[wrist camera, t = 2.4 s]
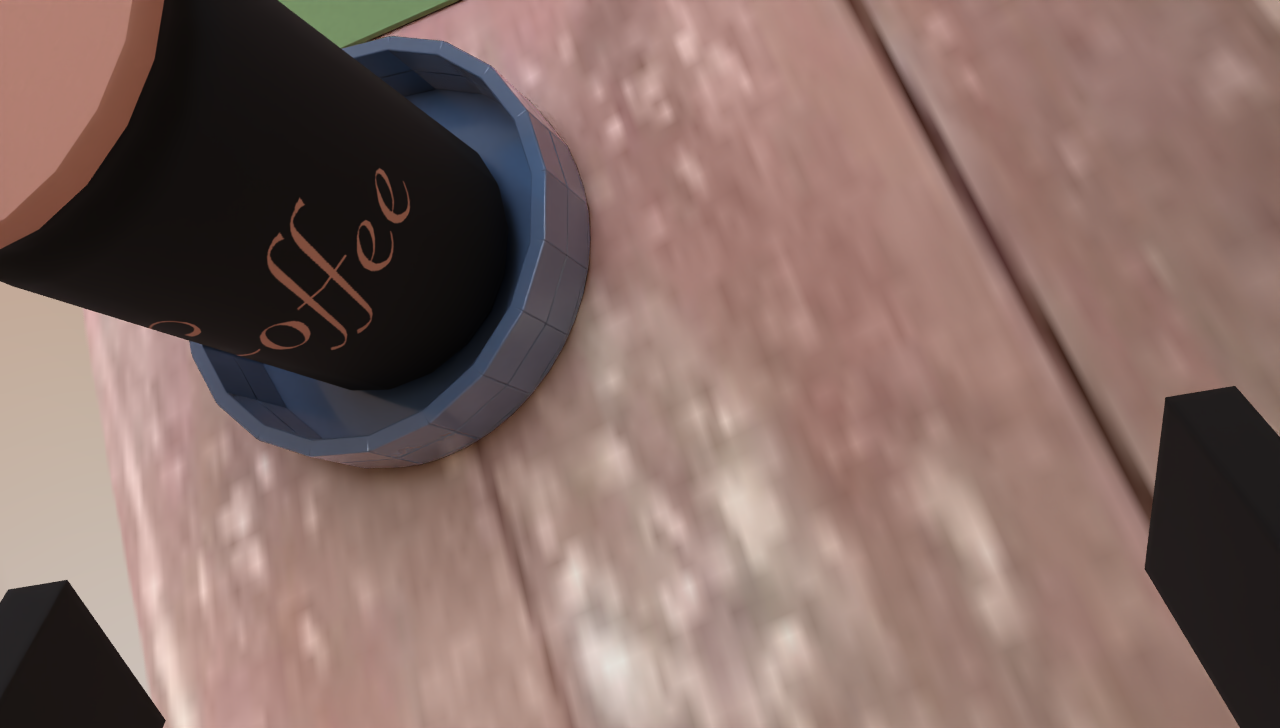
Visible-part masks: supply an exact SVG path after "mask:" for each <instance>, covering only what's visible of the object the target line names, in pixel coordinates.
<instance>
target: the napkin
mask: <svg viewBox="0 0 1280 728" xmlns="http://www.w3.org/2000/svg"><path fill="white" fill-rule="evenodd" d="M278 1H280V2H281V3H282V4H283V5H285V6H286V7H287V8H289V9H290V10H291V11H293V12H294V13H295V14H297V15H298V16H299V17H300V18H302V19H303V20H304V21H306V22H307V23H308V24H310V25H311V26H312V27H314V28H315V29H316V30H317V31H319V32H320V33H321V34H323V35H324V36H325V37H327V38H328V39H329V40H331V41H332V42H333V43H335V44H336V45H337V46H338V47H340V48H345V47H349V46H353V45H357V44H361V43H364V42H366V41H369V40H371V39H373V38H375V37H378V36H380V35H382V34H384V33H387V32H389V31H391V30H394V29H396V28H398V27H400V26H403V25H405V24H407V23H409V22H412V21H414V20H416V19H418V18H421V17H423V16H425V15H428V14H430V13H432V12H434V11H437V10H439V9H441V8H443V7H446V6H448V5H450V4H452V3H455V2H457V1H459V0H278Z"/></svg>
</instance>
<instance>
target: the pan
mask: <svg viewBox="0 0 1280 728" xmlns="http://www.w3.org/2000/svg"><path fill="white" fill-rule="evenodd" d="M341 49H342V50H344V51H345V52H346V53H348V54H349V55H350V56H352V57H353V58H354V59H355V60H357V61H358V62H359V63H361V64H362V65H363V66H365V67H366V68H367V69H369V70H370V71H371V72H373V73H374V74H375V75H376V76H378V77H379V78H380V79H382V80H383V81H384V82H386V83H387V84H388V85H390V86H391V87H392V88H393V89H395V90H396V91H397V92H399V93H400V94H401V95H403V96H404V97H405V98H407V99H408V100H409V101H410V102H412V103H413V104H414V105H416V106H417V107H418V108H420V109H421V110H422V111H424V112H425V113H426V114H428V115H429V116H430V117H431V118H433V119H434V120H435V121H437V122H438V123H439V124H441V125H442V126H443V127H445V128H446V129H447V130H448V131H450V132H451V133H452V134H454V135H455V136H456V137H458V138H459V139H460V140H462V141H463V142H464V143H466V144H467V145H468V146H469V147H471V148H472V149H473V150H475V151H476V152H477V153H478V154H479V155H480V157H481V158H482V160H483V161H484V163H485V165H486V166H487V168H488V169H489V171H490V173H491V174H492V176H493V177H494V179H495V180H496V182H497V184H498V186H499V189H500V193H501V197H502V202H503V206H504V211H505V215H506V220H507V225H508V240H507V252H506V264H505V275H504V278H503V281H502V283H501V286H500V289H499V291H498V294H497V297H496V299H495V302H494V305H493V308H492V310H491V312H490V314H489V315H488V317H487V318H486V319H485V321H484V322H483V324H482V325H481V326H480V328H479V329H478V331H477V332H476V333H475V335H474V336H473V338H472V339H471V340H470V342H469V343H468V344H467V345H466V346H465V347H464V348H462V349H461V350H460V351H459V352H457V353H456V354H455V355H454V356H452V357H451V358H450V359H449V360H447V361H446V362H445V363H444V364H442V365H441V366H440V367H439V368H437V369H436V370H435V371H434V372H433V373H431V374H428V375H426V376H423V377H421V378H418V379H416V380H413V381H411V382H408V383H406V384H403V385H400V386H398V387H395V388H392V389H389V390H357V391H352V390H348V389H345V388H342V387H339V386H335V385H332V384H329V383H326V382H322V381H319V380H316V379H313V378H309V377H306V376H303V375H300V374H296V373H293V372H290V371H287V370H283V369H280V368H277V367H274V366H270V365H267V364H264V363H261V362H257V361H254V360H251V359H248V358H244V357H241V356H238V355H235V354H231V353H228V352H225V351H222V350H218V349H215V348H212V347H209V346H205V345H202V344H199V343H196V342H192V341H189V342H190V348H191V354H192V357H193V359H194V361H195V363H196V365H197V367H198V369H199V371H200V372H201V374H202V376H203V378H204V380H205V382H206V384H207V386H208V388H209V390H210V392H211V394H212V395H213V397H214V399H215V401H216V403H217V404H218V405H219V406H220V407H221V408H222V409H223V410H224V411H225V412H227V413H228V414H229V415H230V416H231V417H232V418H233V419H235V420H236V421H237V422H238V423H239V424H240V425H241V426H243V427H244V428H245V429H246V430H247V431H248V432H249V433H251V434H252V435H253V436H254V437H255V438H256V439H258V440H259V441H262V442H265V443H268V444H271V445H274V446H277V447H281V448H284V449H287V450H290V451H293V452H296V453H299V454H302V455H305V456H308V457H313V458H318V459H322V460H327V461H332V462H338V463H342V464H347V465H351V466H356V467H361V468H399V467H406V466H412V465H421V464H425V463H427V462H430V461H433V460H437V459H440V458H443V457H446V456H448V455H451V454H453V453H455V452H457V451H459V450H461V449H463V448H466V447H468V446H470V445H471V444H473V443H474V442H476V441H478V440H479V439H481V438H482V437H484V436H485V435H487V434H489V433H490V432H492V431H493V430H494V429H495V428H496V427H498V426H499V425H500V424H501V423H503V422H504V421H505V420H506V419H507V418H509V417H510V416H511V415H512V414H513V413H514V412H515V411H516V410H517V409H518V408H519V407H520V406H521V405H522V404H523V403H524V402H525V401H526V400H527V399H528V397H529V396H530V395H531V394H532V393H533V392H534V390H535V389H536V388H537V386H538V385H539V384H540V382H541V381H542V380H543V378H544V377H545V376H546V374H547V373H548V372H549V370H550V369H551V367H552V365H553V363H554V362H555V360H556V358H557V357H558V355H559V353H560V351H561V350H562V348H563V346H564V344H565V342H566V340H567V337H568V335H569V333H570V331H571V328H572V326H573V324H574V321H575V319H576V316H577V312H578V309H579V306H580V303H581V300H582V296H583V293H584V288H585V282H586V277H587V272H588V266H589V252H590V225H589V211H588V206H587V201H586V196H585V191H584V187H583V184H582V181H581V178H580V175H579V172H578V169H577V166H576V164H575V162H574V160H573V158H572V156H571V154H570V151H569V148H568V146H567V145H566V144H565V142H564V141H563V140H562V139H561V138H560V136H559V135H558V134H557V132H556V131H555V129H554V128H553V127H552V126H551V125H550V124H549V123H548V122H547V120H546V119H545V118H544V117H543V115H542V114H541V113H540V112H539V110H538V109H537V108H536V107H535V106H534V105H533V104H532V103H531V102H530V101H529V100H528V99H527V98H526V97H525V96H523V95H522V94H521V93H520V92H519V91H518V90H517V89H516V88H515V87H514V86H513V85H512V84H511V83H509V82H508V81H507V80H506V79H505V78H504V77H503V76H502V75H501V74H500V73H499V72H498V71H497V70H495V69H494V68H493V67H492V66H491V65H489V64H487V63H485V62H483V61H481V60H480V59H478V58H476V57H474V56H472V55H470V54H468V53H466V52H464V51H463V50H461V49H459V48H457V47H455V46H453V45H451V44H449V43H448V42H444V41H438V40H428V39H417V38H407V37H396V36H391V37H390V36H389V37H385V38H381V39H377V40H373V41H369V42H365V43H361V44H357V45H353V46H349V47H345V48H341Z"/></svg>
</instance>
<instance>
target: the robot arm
mask: <svg viewBox="0 0 1280 728" xmlns="http://www.w3.org/2000/svg"><path fill="white" fill-rule="evenodd" d="M1145 570H1146V572H1147V574H1148V575H1149V577H1150V579H1151V580H1152V582H1153V584H1154V585H1155V587H1156V589H1157V590H1158V592H1159V594H1160V595H1161V597H1162V599H1163V600H1164V602H1165V604H1166V605H1167V607H1168V609H1169V610H1170V612H1171V614H1172V615H1173V617H1174V619H1175V620H1176V622H1177V624H1178V625H1179V627H1180V629H1181V630H1182V632H1183V634H1184V635H1185V637H1186V639H1187V640H1188V642H1189V644H1190V645H1191V647H1192V649H1193V650H1194V652H1195V654H1196V655H1197V657H1198V659H1199V660H1200V662H1201V664H1202V665H1203V667H1204V669H1205V670H1206V672H1207V674H1208V675H1209V677H1210V679H1211V680H1212V682H1213V684H1214V685H1215V687H1216V689H1217V690H1218V692H1219V694H1220V695H1221V697H1222V699H1223V700H1224V702H1225V704H1226V705H1227V707H1228V709H1229V710H1230V712H1231V714H1232V715H1233V717H1234V718H1235V720H1236V722H1237V723H1238V725H1239V727H1240V728H1280V437H1279V436H1278V434H1277V433H1276V432H1275V431H1274V430H1273V429H1272V428H1271V426H1270V425H1269V424H1268V423H1267V422H1266V421H1265V420H1264V418H1263V417H1262V416H1261V415H1260V414H1259V413H1258V412H1257V410H1256V409H1255V408H1254V407H1253V406H1252V405H1251V404H1250V402H1249V401H1248V400H1247V399H1246V398H1245V397H1244V396H1243V394H1242V393H1241V392H1240V391H1239V390H1238V389H1237V388H1236V386H1232V387H1225V388H1219V389H1213V390H1207V391H1201V392H1195V393H1189V394H1183V395H1177V396H1171V397H1166V398H1165V406H1164V414H1163V422H1162V431H1161V439H1160V447H1159V455H1158V463H1157V471H1156V480H1155V488H1154V496H1153V504H1152V512H1151V521H1150V529H1149V537H1148V545H1147V553H1146V562H1145ZM165 721H166V720H165V719H164V717H163V716H162V715H161V713H160V712H159V710H158V709H157V707H156V706H155V705H154V703H153V702H152V700H151V699H150V697H149V696H148V695H147V693H146V692H145V690H144V689H143V687H142V686H141V685H140V683H139V682H138V680H137V679H136V677H135V676H134V675H133V673H132V672H131V670H130V669H129V667H128V666H127V665H126V663H125V662H124V660H123V659H122V657H121V656H120V655H119V653H118V652H117V650H116V649H115V647H114V646H113V645H112V643H111V642H110V640H109V639H108V637H107V636H106V635H105V633H104V632H103V630H102V629H101V627H100V626H99V625H98V623H97V622H96V620H95V619H94V617H93V616H92V615H91V613H90V612H89V610H88V609H87V607H86V606H85V605H84V603H83V602H82V600H81V599H80V597H79V596H78V595H77V593H76V592H75V590H74V589H73V588H72V586H71V585H70V583H69V582H68V580H64V581H58V582H52V583H46V584H40V585H34V586H28V587H22V588H16V589H10V590H8V591H7V593H6V594H5V596H4V598H3V599H2V601H1V602H0V728H163V726H164V723H165Z"/></svg>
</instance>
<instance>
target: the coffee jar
mask: <svg viewBox="0 0 1280 728" xmlns="http://www.w3.org/2000/svg"><path fill="white" fill-rule="evenodd" d="M507 240H508V225H507V220H506V215H505V211H504V206H503V202H502V197H501V193H500V189H499V186H498V184H497V182H496V180H495V179H494V177H493V176H492V174H491V173H490V171H489V169H488V168H487V166H486V165H485V163H484V161H483V160H482V158H481V157H480V155H479V154H478V153H477V152H476V151H475V150H473V149H472V148H471V147H469V146H468V145H467V144H466V143H464V142H463V141H462V140H460V139H459V138H458V137H456V136H455V135H454V134H452V133H451V132H450V131H448V130H447V129H446V128H445V127H443V126H442V125H441V124H439V123H438V122H437V121H435V120H434V119H433V118H431V117H430V116H429V115H428V114H426V113H425V112H424V111H422V110H421V109H420V108H418V107H417V106H416V105H414V104H413V103H412V102H410V101H409V100H408V99H407V98H405V97H404V96H403V95H401V94H400V93H399V92H397V91H396V90H395V89H393V88H392V87H391V86H390V85H388V84H387V83H386V82H384V81H383V80H382V79H380V78H379V77H378V76H376V75H375V74H374V73H373V72H371V71H370V70H369V69H367V68H366V67H365V66H363V65H362V64H361V63H359V62H358V61H357V60H355V59H354V58H353V57H352V56H350V55H349V54H348V53H346V52H345V51H344V50H342V49H341V48H340V47H338V46H337V45H336V44H335V43H333V42H332V41H331V40H329V39H328V38H327V37H325V36H324V35H323V34H321V33H320V32H319V31H317V30H316V29H315V28H314V27H312V26H311V25H310V24H308V23H307V22H306V21H304V20H303V19H302V18H300V17H299V16H298V15H297V14H295V13H294V12H293V11H291V10H290V9H289V8H287V7H286V6H285V5H283V4H282V3H281V2H280V1H278V0H0V281H1V282H4V283H6V284H9V285H11V286H14V287H17V288H20V289H24V290H27V291H31V292H33V293H37V294H40V295H43V296H46V297H50V298H53V299H56V300H60V301H63V302H66V303H69V304H73V305H76V306H79V307H82V308H85V309H89V310H92V311H95V312H98V313H102V314H105V315H108V316H111V317H115V318H118V319H121V320H124V321H127V322H131V323H134V324H137V325H140V326H144V327H147V328H150V329H153V330H157V331H160V332H163V333H166V334H170V335H173V336H176V337H179V338H183V339H186V340H189V341H192V342H196V343H199V344H202V345H205V346H209V347H212V348H215V349H218V350H222V351H225V352H228V353H231V354H235V355H238V356H241V357H244V358H248V359H251V360H254V361H257V362H261V363H264V364H267V365H270V366H274V367H277V368H280V369H283V370H287V371H290V372H293V373H296V374H300V375H303V376H306V377H309V378H313V379H316V380H319V381H322V382H326V383H329V384H332V385H335V386H339V387H342V388H345V389H348V390H352V391H357V390H389V389H392V388H395V387H398V386H400V385H403V384H406V383H408V382H411V381H413V380H416V379H418V378H421V377H423V376H426V375H428V374H431V373H433V372H434V371H435V370H436V369H437V368H439V367H440V366H441V365H442V364H444V363H445V362H446V361H447V360H449V359H450V358H451V357H452V356H454V355H455V354H456V353H457V352H459V351H460V350H461V349H462V348H464V347H465V346H466V345H467V344H468V343H469V342H470V340H471V339H472V338H473V336H474V335H475V333H476V332H477V331H478V329H479V328H480V326H481V325H482V324H483V322H484V321H485V319H486V318H487V317H488V315H489V314H490V312H491V310H492V308H493V305H494V302H495V299H496V297H497V294H498V291H499V289H500V286H501V283H502V281H503V278H504V275H505V264H506V252H507Z"/></svg>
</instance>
